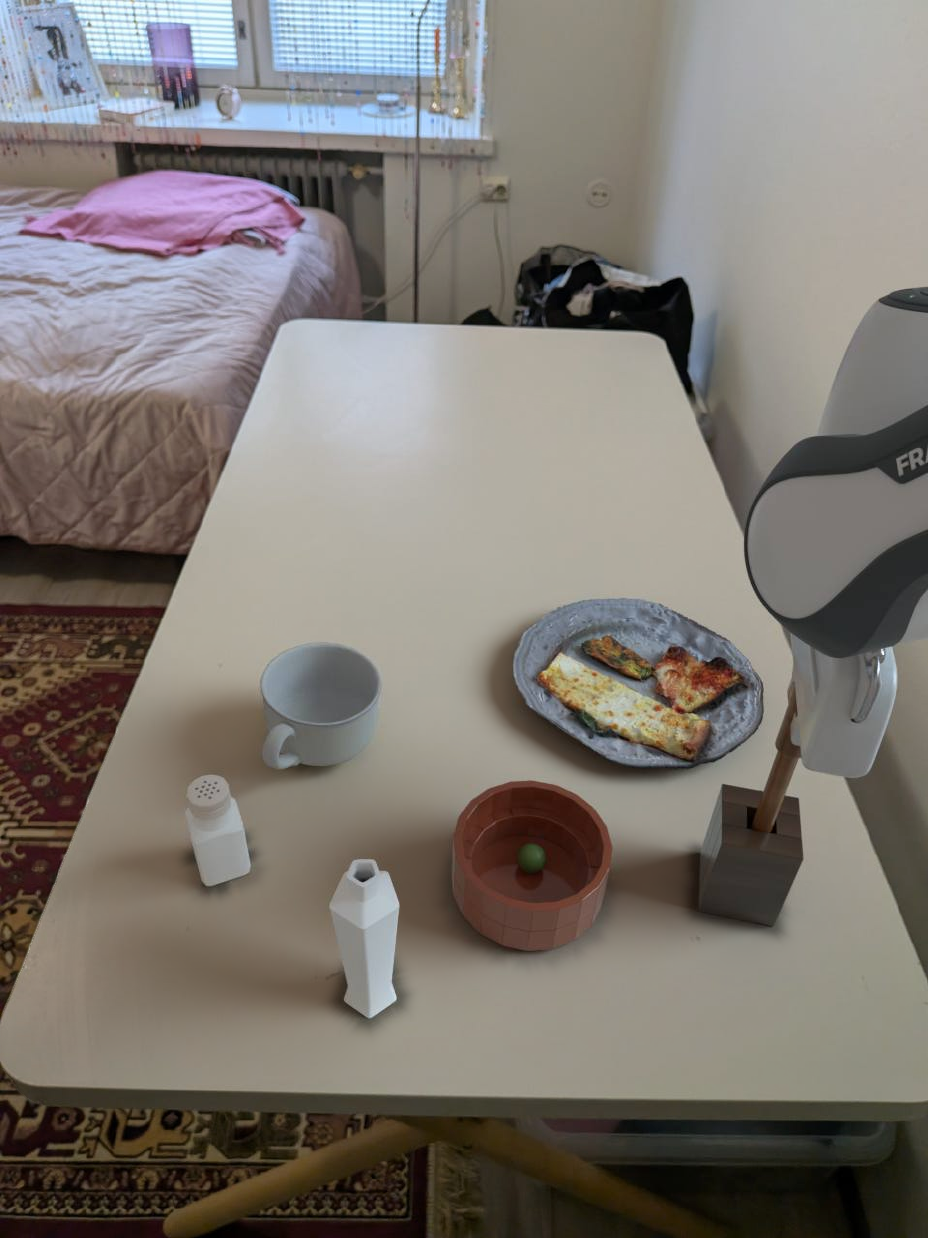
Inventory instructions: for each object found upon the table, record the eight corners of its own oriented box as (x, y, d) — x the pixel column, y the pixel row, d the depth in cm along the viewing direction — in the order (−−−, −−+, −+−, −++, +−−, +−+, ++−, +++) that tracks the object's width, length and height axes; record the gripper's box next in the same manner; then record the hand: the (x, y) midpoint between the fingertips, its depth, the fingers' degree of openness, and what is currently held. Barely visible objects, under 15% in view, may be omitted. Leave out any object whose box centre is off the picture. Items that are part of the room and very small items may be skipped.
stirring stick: (770, 858, 72) (835, 688, 61) (741, 852, 72) (801, 683, 61) (769, 836, 73) (832, 667, 62) (740, 830, 74) (799, 661, 63)
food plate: (799, 692, 96) (808, 667, 94) (679, 823, 82) (686, 797, 80) (602, 588, 108) (606, 564, 106) (469, 687, 95) (471, 661, 92)
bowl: (593, 970, 71) (603, 926, 67) (436, 935, 73) (437, 891, 69) (609, 841, 80) (618, 796, 77) (469, 813, 82) (472, 768, 78)
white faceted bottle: (331, 974, 70) (318, 853, 60) (387, 957, 71) (383, 836, 62) (346, 1030, 67) (335, 912, 57) (405, 1011, 68) (403, 892, 58)
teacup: (322, 685, 94) (317, 625, 89) (405, 733, 89) (405, 672, 84) (219, 767, 85) (206, 706, 80) (305, 825, 81) (298, 763, 75)
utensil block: (773, 927, 74) (803, 859, 69) (698, 911, 75) (721, 843, 70) (771, 866, 79) (799, 797, 73) (700, 852, 80) (722, 783, 74)
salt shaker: (194, 853, 78) (176, 779, 72) (241, 838, 79) (227, 764, 73) (204, 891, 75) (186, 817, 69) (253, 875, 76) (239, 801, 70)
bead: (542, 882, 76) (544, 864, 75) (513, 876, 77) (515, 858, 75) (546, 858, 78) (549, 840, 77) (518, 852, 78) (520, 835, 77)
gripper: (947, 679, 47) (865, 849, 56) (891, 482, 63) (834, 638, 71) (819, 659, 48) (758, 829, 57) (796, 469, 64) (751, 625, 72)
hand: (800, 721), depth 64 cm, fingers closed on stirring stick, 2 cm apart
